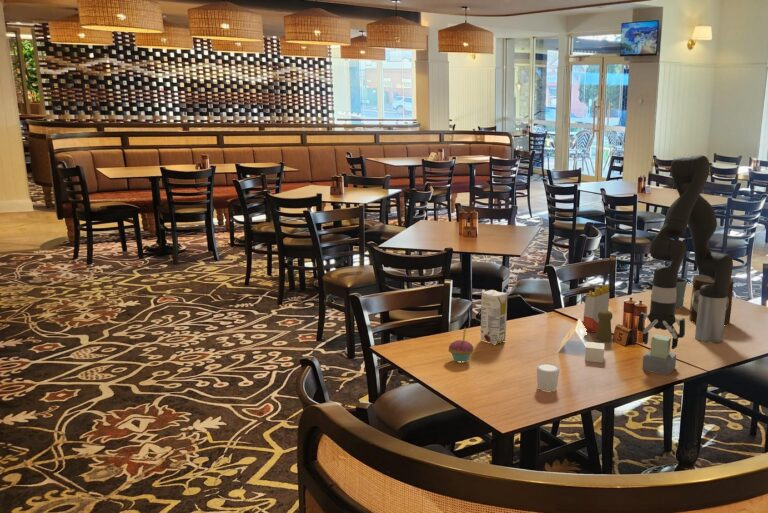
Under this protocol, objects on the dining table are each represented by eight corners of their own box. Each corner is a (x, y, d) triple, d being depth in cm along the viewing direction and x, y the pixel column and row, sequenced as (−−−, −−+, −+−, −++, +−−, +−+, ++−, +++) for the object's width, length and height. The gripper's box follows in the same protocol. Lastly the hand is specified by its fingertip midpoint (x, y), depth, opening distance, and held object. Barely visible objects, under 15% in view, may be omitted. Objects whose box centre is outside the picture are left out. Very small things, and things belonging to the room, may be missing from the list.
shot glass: (532, 384, 202) (533, 363, 200) (553, 383, 202) (555, 362, 201) (539, 393, 195) (540, 372, 193) (561, 392, 196) (562, 371, 194)
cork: (613, 342, 238) (615, 314, 236) (596, 341, 240) (598, 313, 237) (610, 336, 244) (612, 309, 242) (594, 335, 245) (596, 308, 243)
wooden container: (686, 323, 259) (691, 270, 255) (691, 313, 272) (696, 263, 267) (728, 329, 252) (734, 275, 247) (730, 319, 264) (736, 267, 259)
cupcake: (459, 354, 227) (459, 322, 225) (478, 360, 222) (479, 327, 219) (443, 360, 222) (443, 327, 219) (462, 367, 216) (463, 333, 213)
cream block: (585, 355, 226) (586, 341, 225) (603, 357, 224) (604, 343, 223) (584, 361, 221) (585, 347, 220) (603, 363, 219) (604, 349, 218)
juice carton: (495, 346, 235) (497, 296, 231) (477, 340, 241) (478, 292, 237) (508, 341, 240) (510, 293, 236) (490, 336, 246) (491, 288, 242)
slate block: (650, 363, 219) (651, 349, 218) (674, 368, 214) (676, 354, 213) (642, 370, 213) (643, 355, 212) (667, 376, 208) (668, 361, 207)
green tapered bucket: (663, 308, 280) (665, 281, 277) (657, 301, 290) (659, 276, 287) (687, 309, 278) (690, 282, 276) (681, 302, 288) (683, 276, 286)
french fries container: (581, 331, 251) (584, 287, 247) (596, 325, 258) (599, 282, 254) (592, 334, 247) (595, 289, 243) (607, 328, 254) (610, 284, 250)
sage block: (653, 351, 216) (655, 334, 215) (669, 354, 213) (671, 337, 212) (649, 355, 212) (651, 338, 211) (666, 358, 209) (667, 341, 208)
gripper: (689, 299, 208) (684, 346, 211) (643, 293, 216) (639, 338, 219) (685, 305, 202) (680, 353, 205) (637, 298, 210) (634, 345, 213)
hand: (659, 346), depth 212 cm, fingers open, 8 cm apart
